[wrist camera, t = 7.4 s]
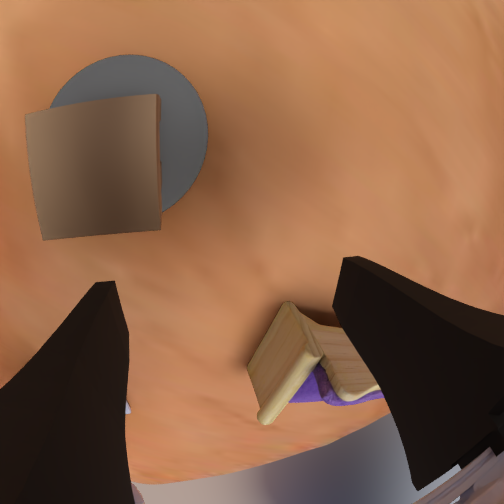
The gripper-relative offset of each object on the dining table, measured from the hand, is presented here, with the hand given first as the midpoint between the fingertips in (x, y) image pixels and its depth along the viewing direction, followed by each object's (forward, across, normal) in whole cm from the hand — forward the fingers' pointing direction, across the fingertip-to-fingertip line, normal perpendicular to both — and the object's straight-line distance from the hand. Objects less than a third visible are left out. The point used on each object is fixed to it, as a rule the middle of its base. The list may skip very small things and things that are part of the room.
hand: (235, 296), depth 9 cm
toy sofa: (+11, -14, +17) cm, 24 cm away
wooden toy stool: (+10, +5, -4) cm, 11 cm away
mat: (+10, +5, -4) cm, 12 cm away
